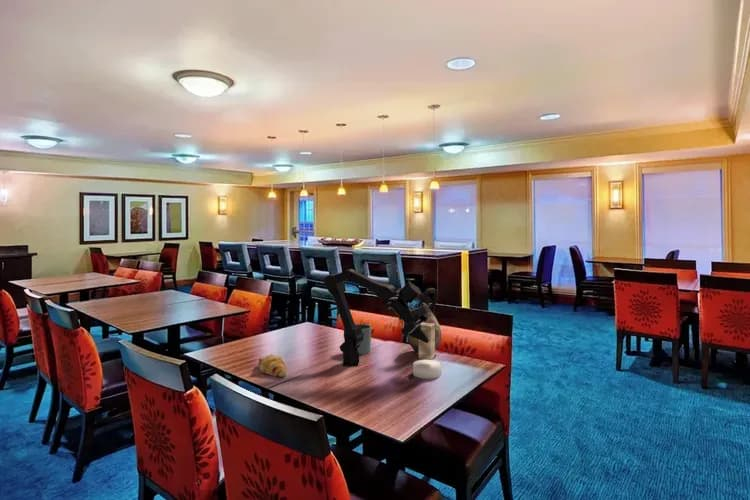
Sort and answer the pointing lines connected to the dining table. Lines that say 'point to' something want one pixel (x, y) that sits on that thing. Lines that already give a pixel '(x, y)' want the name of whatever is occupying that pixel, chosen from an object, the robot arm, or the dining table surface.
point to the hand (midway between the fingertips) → (430, 340)
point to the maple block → (428, 348)
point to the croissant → (272, 366)
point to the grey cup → (365, 339)
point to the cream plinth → (427, 369)
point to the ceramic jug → (438, 336)
